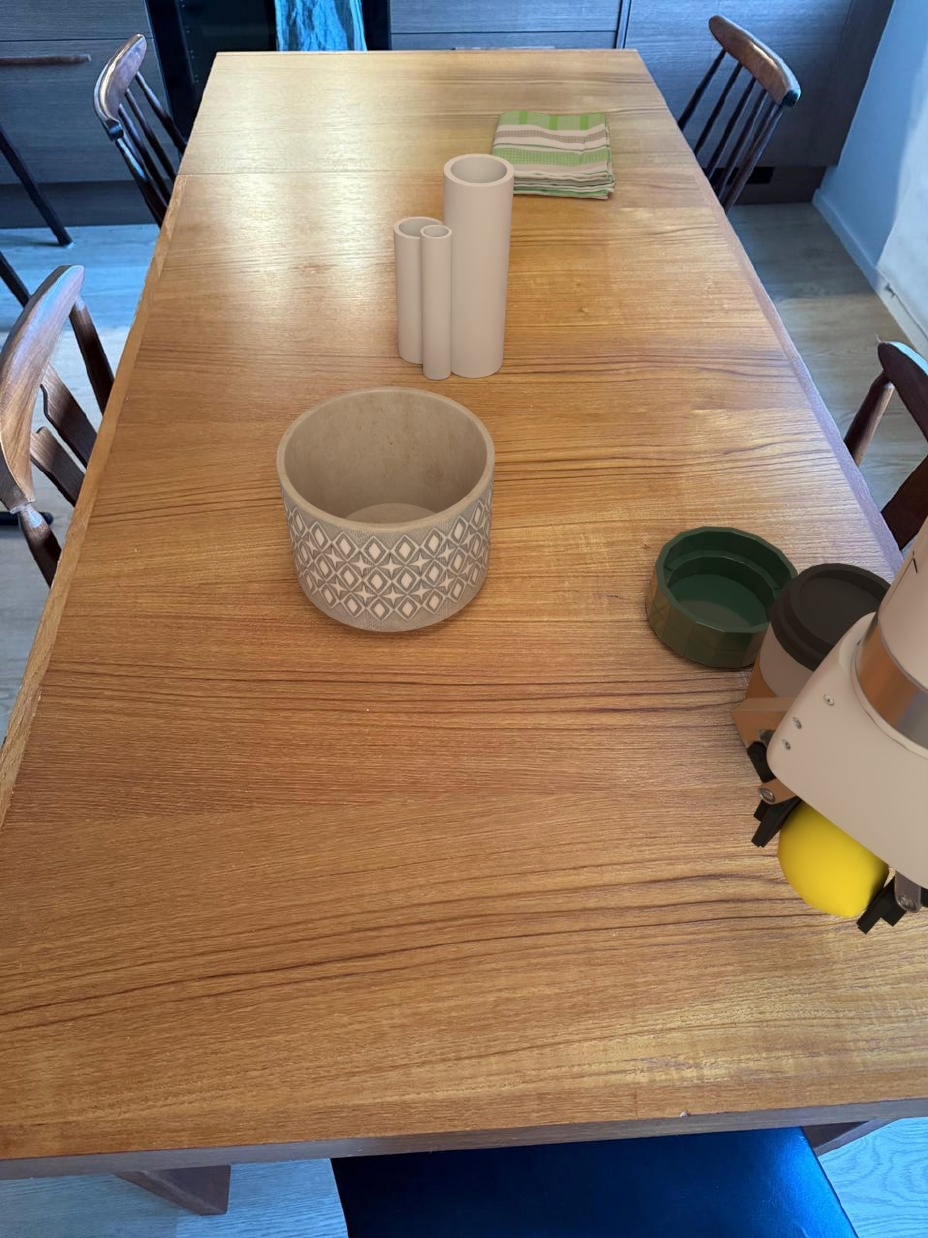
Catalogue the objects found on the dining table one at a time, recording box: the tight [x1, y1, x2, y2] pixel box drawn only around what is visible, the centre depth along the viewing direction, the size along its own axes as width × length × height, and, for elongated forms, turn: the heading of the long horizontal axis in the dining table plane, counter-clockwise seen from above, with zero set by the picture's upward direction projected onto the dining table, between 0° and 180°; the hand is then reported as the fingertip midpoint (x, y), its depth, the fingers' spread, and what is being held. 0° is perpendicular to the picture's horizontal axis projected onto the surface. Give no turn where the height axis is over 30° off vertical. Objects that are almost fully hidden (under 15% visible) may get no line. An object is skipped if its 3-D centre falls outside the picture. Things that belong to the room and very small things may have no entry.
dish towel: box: [490, 110, 617, 200], centre depth 126 cm, size 17×23×4 cm
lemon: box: [776, 799, 891, 918], centre depth 48 cm, size 7×5×5 cm
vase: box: [392, 153, 514, 381], centre depth 88 cm, size 11×7×20 cm, turn 89°
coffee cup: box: [738, 562, 892, 749], centre depth 61 cm, size 8×8×15 cm
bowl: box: [645, 525, 799, 669], centre depth 72 cm, size 11×11×5 cm
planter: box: [275, 385, 496, 633], centre depth 72 cm, size 16×16×13 cm
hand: (822, 868), depth 49 cm, fingers closed on lemon, 5 cm apart
